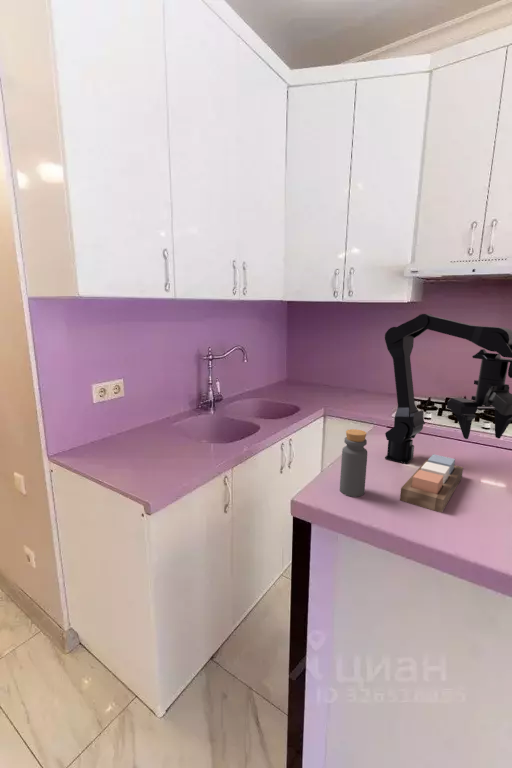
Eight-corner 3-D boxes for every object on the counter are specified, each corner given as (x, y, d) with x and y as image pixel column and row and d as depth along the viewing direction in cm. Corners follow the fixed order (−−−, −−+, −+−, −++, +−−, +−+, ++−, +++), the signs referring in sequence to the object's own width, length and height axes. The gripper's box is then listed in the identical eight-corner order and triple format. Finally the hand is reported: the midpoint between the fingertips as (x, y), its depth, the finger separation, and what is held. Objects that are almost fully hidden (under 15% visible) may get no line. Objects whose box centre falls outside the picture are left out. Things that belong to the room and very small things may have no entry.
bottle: (365, 488, 94) (369, 430, 91) (363, 498, 88) (368, 437, 86) (341, 484, 96) (344, 427, 93) (338, 494, 90) (342, 433, 87)
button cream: (419, 481, 94) (421, 467, 93) (425, 474, 98) (426, 461, 97) (443, 487, 91) (444, 473, 90) (448, 480, 95) (449, 466, 94)
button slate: (426, 472, 99) (428, 459, 99) (431, 466, 104) (433, 454, 103) (449, 478, 96) (450, 465, 95) (453, 471, 100) (455, 458, 100)
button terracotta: (411, 490, 88) (412, 476, 88) (417, 483, 93) (419, 469, 92) (436, 497, 85) (438, 483, 84) (441, 489, 89) (443, 475, 89)
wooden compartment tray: (399, 500, 88) (401, 488, 87) (426, 469, 107) (427, 458, 106) (441, 512, 83) (443, 500, 82) (461, 477, 101) (463, 467, 101)
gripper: (482, 384, 84) (472, 450, 88) (554, 385, 88) (541, 449, 91) (449, 375, 95) (441, 434, 98) (514, 376, 98) (504, 433, 101)
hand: (481, 438), depth 97 cm, fingers open, 9 cm apart
